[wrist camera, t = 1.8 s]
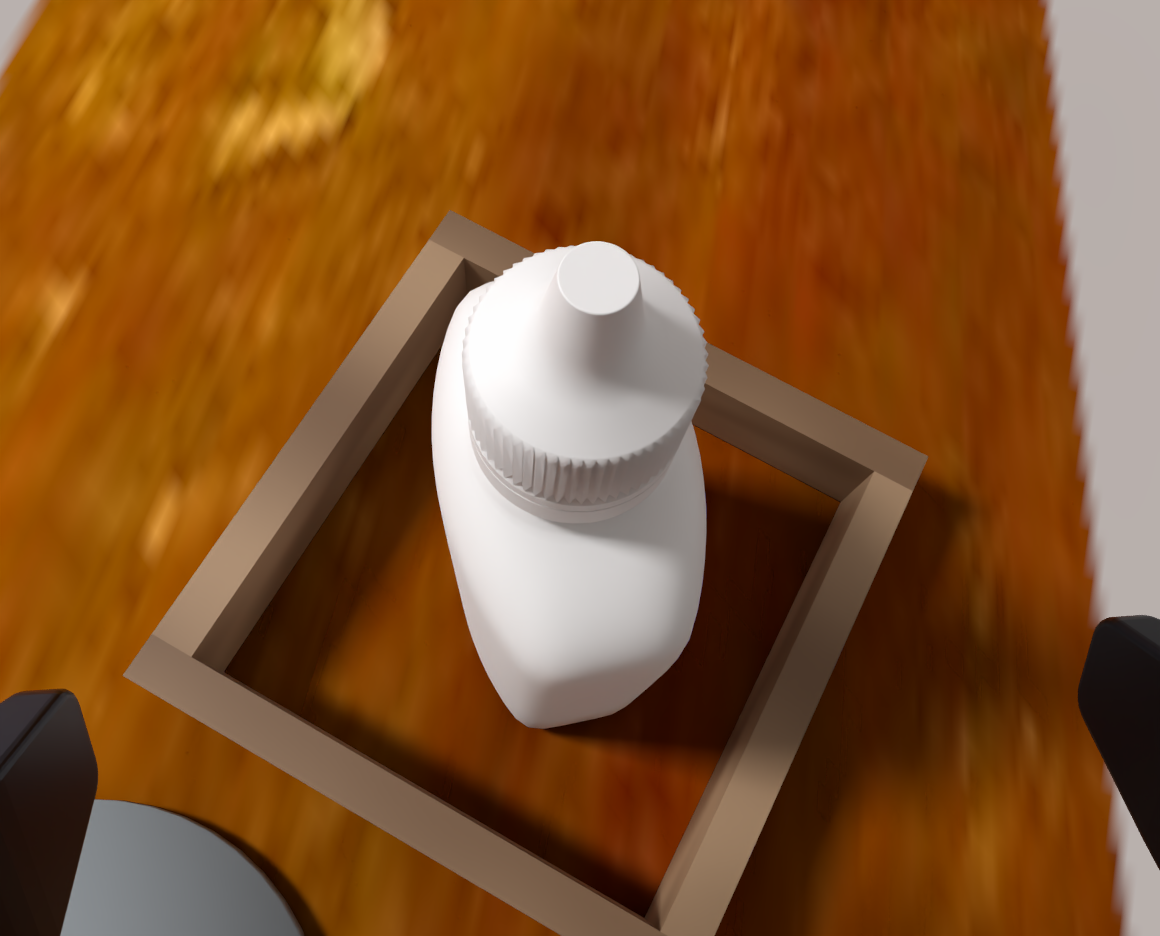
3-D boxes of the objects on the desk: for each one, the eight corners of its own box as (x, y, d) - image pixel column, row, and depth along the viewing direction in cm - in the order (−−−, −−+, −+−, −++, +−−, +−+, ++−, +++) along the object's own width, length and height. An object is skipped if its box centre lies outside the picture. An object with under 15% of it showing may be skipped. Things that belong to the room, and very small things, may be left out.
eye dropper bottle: (689, 488, 20) (912, 94, 9) (612, 757, 19) (771, 682, 7) (489, 425, 21) (463, -41, 9) (393, 685, 19) (213, 503, 7)
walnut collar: (663, 985, 17) (682, 1007, 15) (162, 688, 18) (122, 675, 16) (890, 488, 21) (928, 456, 19) (455, 261, 22) (449, 210, 20)
